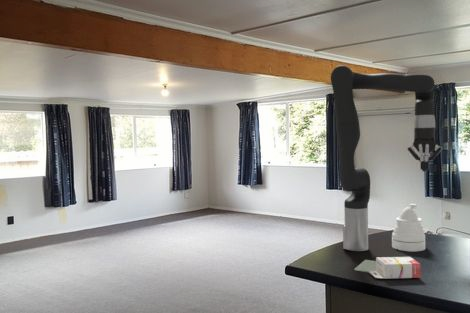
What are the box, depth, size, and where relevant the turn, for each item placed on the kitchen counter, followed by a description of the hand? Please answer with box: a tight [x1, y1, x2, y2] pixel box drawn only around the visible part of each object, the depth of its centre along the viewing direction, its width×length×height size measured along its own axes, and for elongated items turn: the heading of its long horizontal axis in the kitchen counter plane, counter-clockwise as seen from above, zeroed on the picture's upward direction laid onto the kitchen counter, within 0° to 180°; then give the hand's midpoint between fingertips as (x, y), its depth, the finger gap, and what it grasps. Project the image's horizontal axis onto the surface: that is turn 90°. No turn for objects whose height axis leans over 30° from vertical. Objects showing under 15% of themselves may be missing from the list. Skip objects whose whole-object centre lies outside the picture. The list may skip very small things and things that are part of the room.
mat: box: [354, 259, 376, 273], centre depth 155 cm, size 16×13×1 cm
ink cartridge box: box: [368, 256, 422, 280], centre depth 146 cm, size 9×5×15 cm
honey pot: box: [391, 203, 426, 252], centre depth 182 cm, size 13×13×18 cm
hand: (424, 171), depth 174 cm, fingers closed
